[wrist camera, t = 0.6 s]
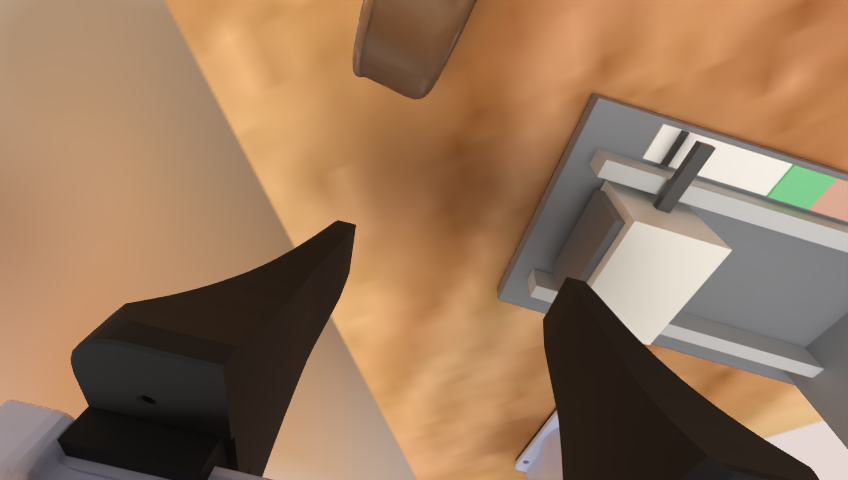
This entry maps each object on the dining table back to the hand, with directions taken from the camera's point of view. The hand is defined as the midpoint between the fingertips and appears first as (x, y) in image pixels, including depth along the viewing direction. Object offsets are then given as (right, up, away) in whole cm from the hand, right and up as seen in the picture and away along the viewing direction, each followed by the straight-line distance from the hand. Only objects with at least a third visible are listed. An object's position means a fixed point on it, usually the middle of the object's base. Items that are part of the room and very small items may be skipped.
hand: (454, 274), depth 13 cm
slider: (+9, +2, +6) cm, 11 cm away
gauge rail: (+15, 0, +8) cm, 17 cm away
